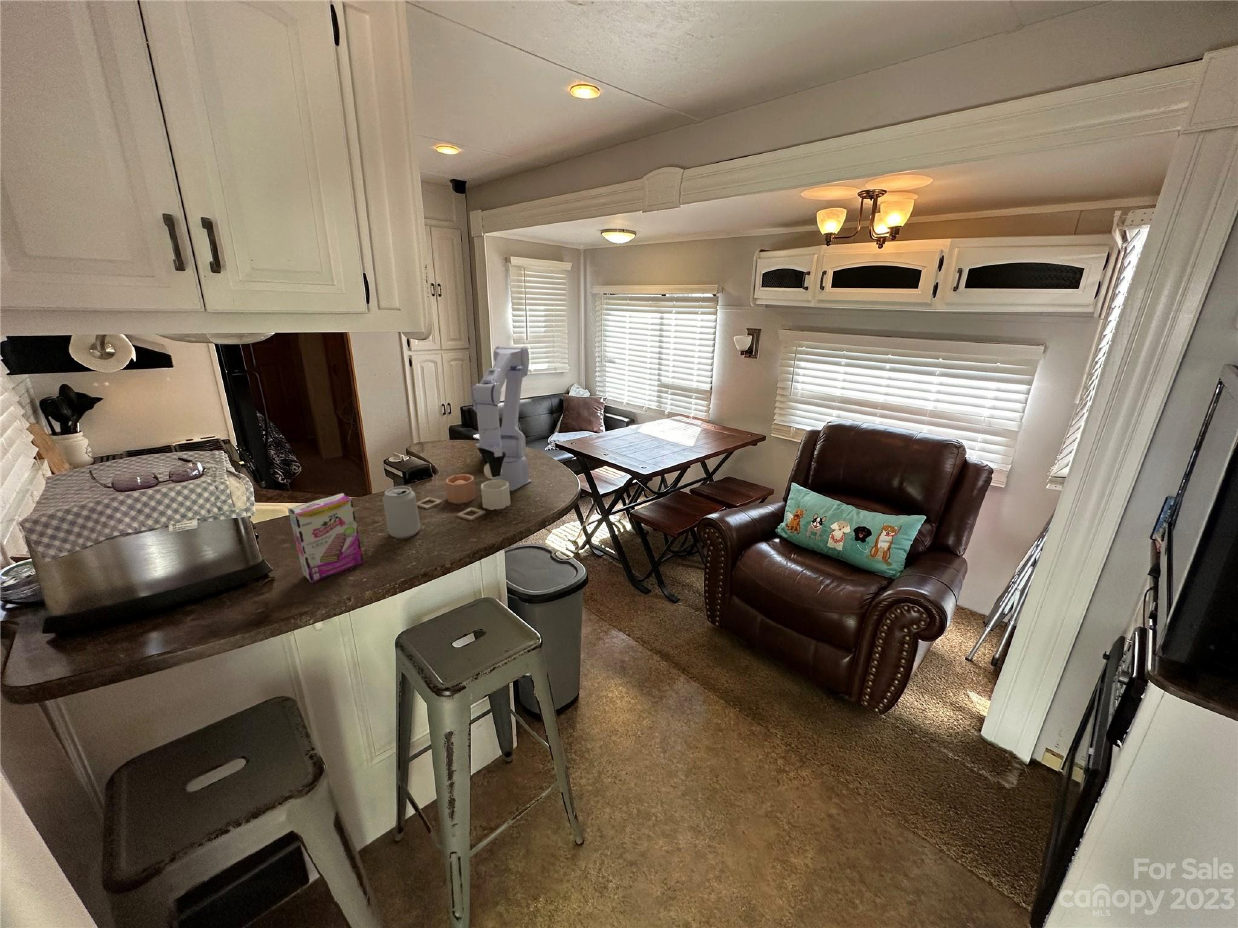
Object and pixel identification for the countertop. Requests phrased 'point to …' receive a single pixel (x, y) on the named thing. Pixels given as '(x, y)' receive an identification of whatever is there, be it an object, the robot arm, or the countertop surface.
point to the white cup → (495, 494)
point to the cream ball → (489, 472)
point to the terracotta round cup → (460, 489)
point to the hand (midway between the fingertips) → (493, 473)
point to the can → (401, 512)
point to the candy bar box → (326, 536)
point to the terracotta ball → (459, 482)
